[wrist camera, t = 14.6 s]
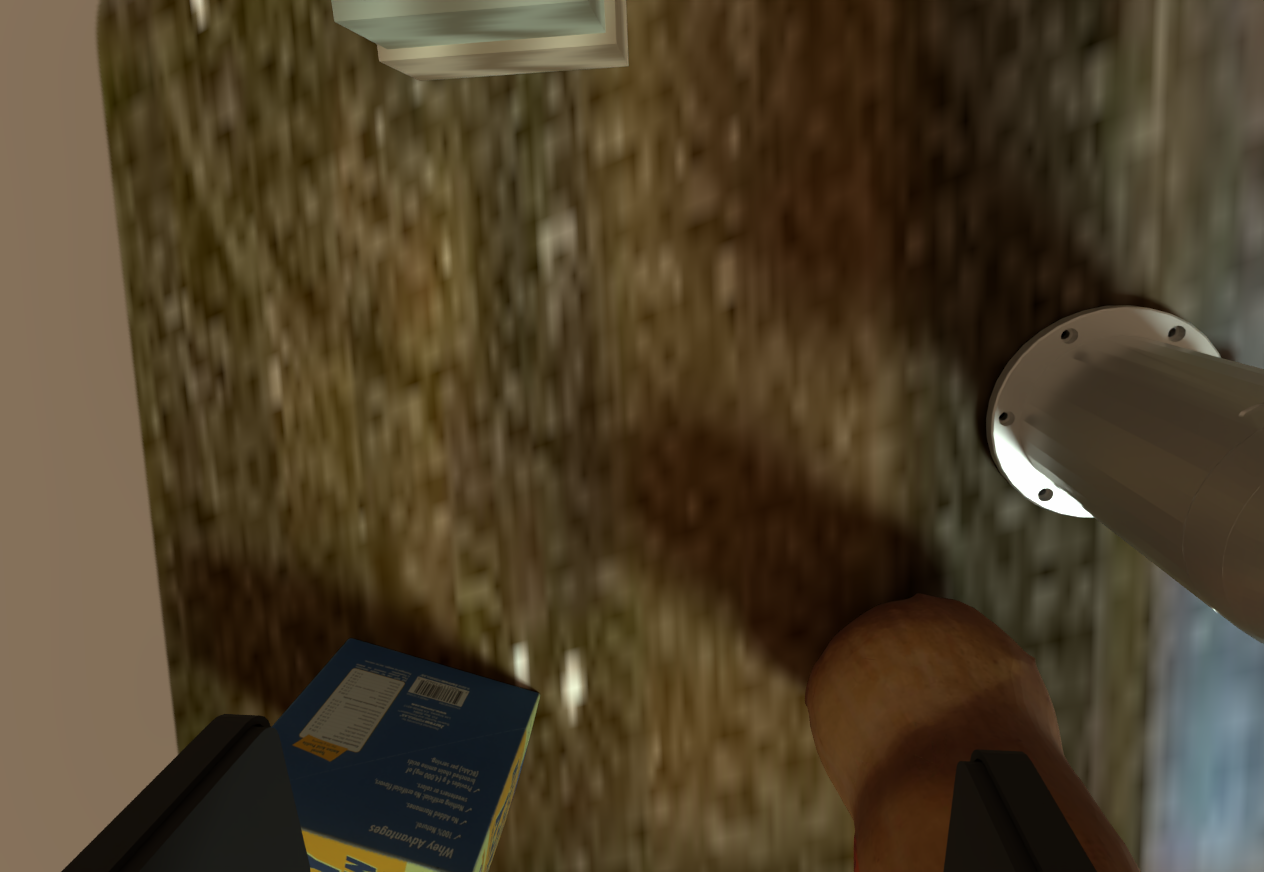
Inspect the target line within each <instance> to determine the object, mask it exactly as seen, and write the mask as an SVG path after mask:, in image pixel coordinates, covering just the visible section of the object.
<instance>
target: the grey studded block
mask: <svg viewBox="0 0 1264 872" xmlns="http://www.w3.org/2000/svg"><path fill="white" fill-rule="evenodd" d="M331 1H332V8H333V15H334V21H335V22H336V23H338V24H340V25H342V26H344V27H346V28H348V29H350V30H351V31H353V32H355V33H357V34H359V35H361V36H363V37H365V38H367V39H369V40H370V41H372V42H374V43H376V44H377V48H378V55H379V61H380V62H382V63H384V64H386V65H388V66H390V67H392V68H394V69H396V70H398V71H401V72H403V73H405V74H407V75H409V76H411V77H413V78H415V79H417V80H419V81H424V80H438V79H452V78H467V77H481V76H495V75H509V74H523V73H538V72H552V71H566V70H580V69H594V68H609V67H623V66H629V63H628V37H627V10H626V0H331Z"/></svg>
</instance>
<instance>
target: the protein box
mask: <svg viewBox="0 0 1264 872" xmlns="http://www.w3.org/2000/svg"><path fill="white" fill-rule="evenodd" d="M539 698H540V694H539V693H537V692H533V691H530V690H526V689H523V688H519V687H516V686H513V685H509V684H506V683H502V682H499V681H495V680H492V679H488V678H485V677H482V676H478V675H475V674H472V673H468V672H464V671H461V670H458V669H454V668H451V667H448V666H444V665H441V664H438V663H434V662H431V661H428V660H424V659H421V658H417V657H414V656H411V655H407V654H404V653H400V652H397V651H394V650H390V649H387V648H384V647H380V646H377V645H373V644H370V643H367V642H363V641H360V640H356V639H353V638H350V639H348V640H347V641H346V642H345V644H344V645H343V646H342V647H341V648H340V649H339V650H338V651H337V653H336V654H335V655H334V656H333V657H332V658H331V659H330V661H329V662H328V663H327V664H326V665H325V666H324V668H323V669H322V670H321V671H320V672H319V673H318V675H317V676H316V677H315V678H314V679H313V680H312V681H311V682H310V684H309V685H308V686H307V687H306V688H305V689H304V690H303V692H302V693H301V694H300V695H299V696H298V697H297V698H296V700H295V701H294V702H293V703H292V704H291V705H290V706H289V708H288V709H287V710H286V711H285V712H284V713H283V714H282V716H281V717H280V718H279V719H278V720H277V721H276V722H275V724H274V725H273V726H272V727H273V728H275V729H276V730H277V731H278V734H279V737H280V741H281V745H282V750H283V754H284V758H285V762H286V767H287V771H288V775H289V779H290V784H291V788H292V792H293V796H294V800H295V805H296V809H297V813H298V817H299V822H300V826H301V830H302V834H303V839H304V843H305V847H306V851H307V855H308V860H309V864H310V871H311V872H488V871H489V868H490V865H491V862H492V859H493V856H494V853H495V850H496V847H497V844H498V842H499V839H500V836H501V833H502V830H503V827H504V824H505V822H506V819H507V816H508V813H509V810H510V807H511V803H512V801H513V798H514V794H515V790H516V786H517V783H518V779H519V775H520V772H521V768H522V765H523V761H524V757H525V753H526V750H527V746H528V742H529V738H530V734H531V730H532V726H533V722H534V718H535V714H536V711H537V706H538V702H539Z"/></svg>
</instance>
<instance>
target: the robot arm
mask: <svg viewBox="0 0 1264 872" xmlns="http://www.w3.org/2000/svg"><path fill="white" fill-rule="evenodd" d="M1170 329H1171V331H1170ZM1063 331H1066V334H1065V336H1064V337H1062V338H1061V335H1062V333H1063ZM1169 331H1170V333H1169ZM1168 333H1169V334H1168ZM1003 412H1005V415H1004V417H1002V418H999V417H1000V415H1001V414H1002V413H1003ZM986 433H987V441H988V445H989V449H990V453H991V456H992V458H993V460H994V462H995V464H996V466H997V468H998V470H999V472H1000V473H1001V474H1002V475H1003V477H1004V478H1005V479H1006V480H1007V481H1008V482H1009V484H1010V485H1011V486H1012V487H1013V488H1015V489H1016V490H1017V491H1018V492H1019V493H1020V494H1021V495H1023V496H1024V497H1025V498H1027V499H1028V500H1030V501H1031V502H1033V503H1034V504H1036V505H1038V506H1039V507H1042V508H1044V509H1047V510H1050V511H1052V512H1055V513H1058V514H1062V515H1068V516H1073V517H1079V518H1096V519H1097V520H1099V521H1100V522H1101V523H1102V524H1104V525H1105V526H1106V527H1108V528H1109V529H1110V530H1111V531H1113V532H1114V533H1115V534H1117V535H1118V536H1119V537H1120V538H1122V539H1123V540H1124V541H1126V542H1127V543H1128V544H1129V545H1131V546H1132V547H1133V548H1135V549H1136V550H1137V551H1139V552H1140V553H1141V554H1142V555H1144V556H1145V557H1146V558H1148V559H1149V560H1150V561H1151V562H1153V563H1154V564H1155V565H1157V566H1158V567H1159V568H1160V569H1162V570H1163V571H1164V572H1166V573H1167V574H1168V575H1169V576H1171V577H1172V578H1173V579H1175V580H1176V581H1177V582H1178V583H1180V584H1181V585H1182V586H1184V587H1185V588H1186V589H1187V590H1189V591H1190V592H1191V593H1193V594H1194V595H1195V596H1196V597H1198V598H1199V599H1200V600H1202V601H1203V602H1204V603H1206V604H1207V605H1208V606H1209V607H1211V608H1212V609H1213V610H1215V611H1216V612H1218V613H1219V614H1220V615H1222V616H1223V617H1224V618H1226V619H1227V620H1228V621H1230V622H1231V623H1232V624H1234V625H1235V626H1236V627H1237V628H1239V629H1240V630H1242V631H1243V632H1245V633H1246V634H1248V635H1249V636H1251V637H1253V638H1254V639H1256V640H1257V641H1259V642H1261V643H1263V644H1264V369H1260V368H1257V367H1253V366H1249V365H1245V364H1242V363H1238V362H1234V361H1231V360H1227V359H1223V358H1221V356H1220V354H1219V352H1218V351H1217V349H1216V348H1215V347H1214V345H1213V344H1212V343H1211V341H1210V340H1209V339H1208V337H1207V336H1206V335H1204V334H1203V333H1202V332H1201V331H1199V330H1198V329H1197V328H1196V327H1195V326H1193V325H1192V324H1191V323H1189V322H1187V321H1185V320H1183V319H1181V318H1179V317H1177V316H1175V315H1173V314H1170V313H1167V312H1163V311H1159V310H1155V309H1151V308H1146V307H1139V306H1132V305H1115V306H1103V307H1098V308H1093V309H1088V310H1083V311H1081V312H1078V313H1075V314H1073V315H1070V316H1067V317H1065V318H1062V319H1060V320H1058V321H1057V322H1055V323H1053V324H1051V325H1050V326H1048V327H1046V328H1045V329H1043V330H1041V331H1040V332H1039V333H1037V334H1036V335H1035V336H1034V337H1032V338H1031V339H1030V340H1029V341H1028V342H1026V343H1025V344H1024V345H1023V346H1022V347H1021V348H1020V349H1019V350H1018V351H1017V353H1016V354H1015V355H1014V356H1013V357H1012V358H1011V359H1010V360H1009V362H1008V363H1007V365H1006V366H1005V368H1004V370H1003V371H1002V373H1001V374H1000V376H999V378H998V379H997V381H996V384H995V386H994V389H993V392H992V394H991V397H990V399H989V405H988V410H987V416H986ZM1040 490H1042V491H1041V492H1039V491H1040ZM62 872H311V871H310V864H309V860H308V855H307V851H306V847H305V843H304V839H303V834H302V830H301V826H300V822H299V817H298V813H297V809H296V805H295V800H294V796H293V792H292V788H291V784H290V779H289V775H288V771H287V767H286V762H285V758H284V754H283V750H282V745H281V741H280V737H279V734H278V731H277V730H276V729H275V728H273V727H271V726H270V724H269V721H268V720H267V719H266V718H265V717H263V716H255V715H233V714H224V715H221V716H218V717H217V718H215V719H214V720H213V721H212V722H211V723H210V724H209V725H208V726H207V727H206V728H205V729H204V730H203V731H202V732H201V733H200V734H199V735H198V736H197V737H196V738H195V739H194V740H193V741H192V742H191V743H190V744H189V745H188V746H187V747H186V748H185V749H184V750H183V751H182V752H181V753H180V754H179V755H178V756H177V757H176V758H175V759H174V760H173V761H172V762H171V763H170V764H169V765H168V766H167V767H166V768H165V769H164V770H163V771H162V772H161V773H160V774H159V775H158V776H157V777H156V778H155V779H154V780H153V781H152V782H151V783H150V784H149V785H148V786H147V787H146V788H145V789H144V790H143V791H142V792H141V793H140V794H139V795H138V796H137V797H136V798H135V799H134V800H133V801H132V802H131V803H130V804H129V805H128V806H127V807H126V808H125V809H124V810H123V811H122V812H121V813H120V814H119V815H118V816H117V817H116V818H115V819H114V820H113V821H112V822H111V823H110V824H109V825H108V826H107V827H106V828H105V829H104V830H103V831H102V832H101V833H100V834H99V835H98V836H97V837H96V838H95V839H94V840H93V841H92V842H91V843H90V844H89V845H88V846H87V847H86V848H85V849H84V850H83V851H82V852H81V853H80V854H79V855H78V856H77V857H76V858H75V859H74V860H73V861H72V862H71V863H70V864H69V865H68V866H67V867H66V868H65V869H64V870H63V871H62ZM943 872H1097V871H1096V869H1095V868H1094V866H1093V864H1092V863H1091V861H1090V859H1089V857H1088V856H1087V854H1086V852H1085V851H1084V849H1083V847H1082V846H1081V844H1080V842H1079V841H1078V839H1077V837H1076V835H1075V834H1074V832H1073V830H1072V829H1071V827H1070V825H1069V824H1068V822H1067V820H1066V819H1065V817H1064V815H1063V813H1062V812H1061V810H1060V808H1059V807H1058V805H1057V803H1056V802H1055V800H1054V798H1053V797H1052V795H1051V793H1050V791H1049V790H1048V788H1047V786H1046V785H1045V783H1044V781H1043V780H1042V778H1041V776H1040V775H1039V773H1038V771H1037V769H1036V768H1035V766H1034V764H1033V763H1032V761H1031V760H1030V758H1029V757H1028V756H1027V754H1025V753H1024V752H1022V751H1002V750H980V749H977V750H974V751H973V753H972V754H971V758H970V761H959V762H958V764H957V768H956V774H955V782H954V790H953V799H952V807H951V815H950V823H949V831H948V839H947V847H946V855H945V863H944V871H943Z"/></svg>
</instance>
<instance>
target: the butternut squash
mask: <svg viewBox="0 0 1264 872" xmlns="http://www.w3.org/2000/svg"><path fill="white" fill-rule="evenodd" d="M805 704H806V706H807V707H808V712H809V718H810V727H811V731H812V734H813V738H814V742H815V746H816V749H817V752H818V755H819V757H820V759H821V762H822V764H823V766H824V768H825V770H826V772H827V775H828V776H829V778H830V780H831V782H832V783H833V785H834V787H835V788H836V790H837V792H838V793H839V795H840V797H841V799H842V801H843V803H844V804H845V806H846V808H847V809H848V811H849V813H850V815H851V817H852V818H853V820H854V825H855V835H854V872H943V871H944V863H945V855H946V847H947V839H948V831H949V823H950V815H951V807H952V799H953V790H954V782H955V774H956V768H957V764H958V762H959V761H970V758H971V754H972V753H973V751H974V750H977V749H980V750H1002V751H1022V752H1024V753H1025V754H1027V756H1028V757H1029V758H1030V760H1031V761H1032V763H1033V764H1034V766H1035V768H1036V769H1037V771H1038V773H1039V775H1040V776H1041V778H1042V780H1043V781H1044V783H1045V785H1046V786H1047V788H1048V790H1049V791H1050V793H1051V795H1052V797H1053V798H1054V800H1055V802H1056V803H1057V805H1058V807H1059V808H1060V810H1061V812H1062V813H1063V815H1064V817H1065V819H1066V820H1067V822H1068V824H1069V825H1070V827H1071V829H1072V830H1073V832H1074V834H1075V835H1076V837H1077V839H1078V841H1079V842H1080V844H1081V846H1082V847H1083V849H1084V851H1085V852H1086V854H1087V856H1088V857H1089V859H1090V861H1091V863H1092V864H1093V866H1094V868H1095V869H1096V871H1097V872H1141V871H1140V869H1139V868H1138V866H1137V864H1136V862H1135V861H1134V859H1133V857H1132V855H1131V854H1130V852H1129V850H1128V848H1127V846H1126V845H1125V843H1124V842H1123V840H1122V839H1121V838H1120V836H1119V835H1118V834H1117V832H1116V831H1115V830H1114V828H1113V827H1112V825H1111V824H1110V823H1109V821H1108V820H1107V818H1106V817H1105V815H1104V814H1103V812H1102V811H1101V809H1100V808H1099V806H1098V805H1097V803H1096V802H1095V800H1094V799H1093V797H1092V796H1091V794H1090V793H1089V791H1088V790H1087V788H1086V787H1085V785H1084V784H1083V783H1082V781H1081V780H1080V778H1079V777H1078V776H1077V774H1076V773H1075V772H1074V770H1073V769H1072V768H1071V766H1070V764H1069V763H1068V761H1067V759H1066V758H1065V756H1064V754H1063V748H1062V743H1061V738H1060V732H1059V727H1058V722H1057V718H1056V714H1055V711H1054V707H1053V704H1052V701H1051V699H1050V696H1049V694H1048V691H1047V689H1046V686H1045V684H1044V682H1043V680H1042V677H1041V675H1040V673H1039V671H1038V669H1037V666H1036V663H1035V658H1034V657H1032V656H1030V655H1029V654H1027V653H1026V652H1025V651H1024V650H1023V649H1022V648H1021V647H1020V646H1019V645H1018V644H1017V643H1016V642H1015V641H1014V640H1013V639H1012V638H1011V637H1010V636H1008V635H1007V634H1006V633H1005V632H1004V631H1003V630H1002V629H1000V628H999V627H998V626H997V625H996V624H994V623H993V622H992V621H990V620H989V619H988V618H986V617H985V616H984V615H983V614H981V613H980V612H979V611H977V610H976V609H974V608H973V607H971V606H968V605H966V604H964V603H962V602H960V601H957V600H953V599H946V598H940V597H935V596H930V595H926V594H920V593H916V595H915V596H913V597H911V598H909V599H904V600H899V601H893V602H887V603H883V604H879V605H877V606H876V607H874V608H872V609H870V610H868V611H867V612H865V613H863V614H862V615H860V616H859V617H857V618H856V619H855V620H853V621H852V622H850V623H849V624H848V625H847V626H845V627H844V628H843V629H842V630H840V631H839V632H838V633H837V634H836V635H835V636H834V637H833V638H832V640H831V641H830V642H829V644H828V645H827V647H826V648H825V650H824V651H823V653H822V655H821V656H820V658H819V659H818V660H817V661H816V663H815V664H814V666H813V668H812V671H811V674H810V677H809V680H808V683H807V687H806V693H805Z"/></svg>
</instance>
